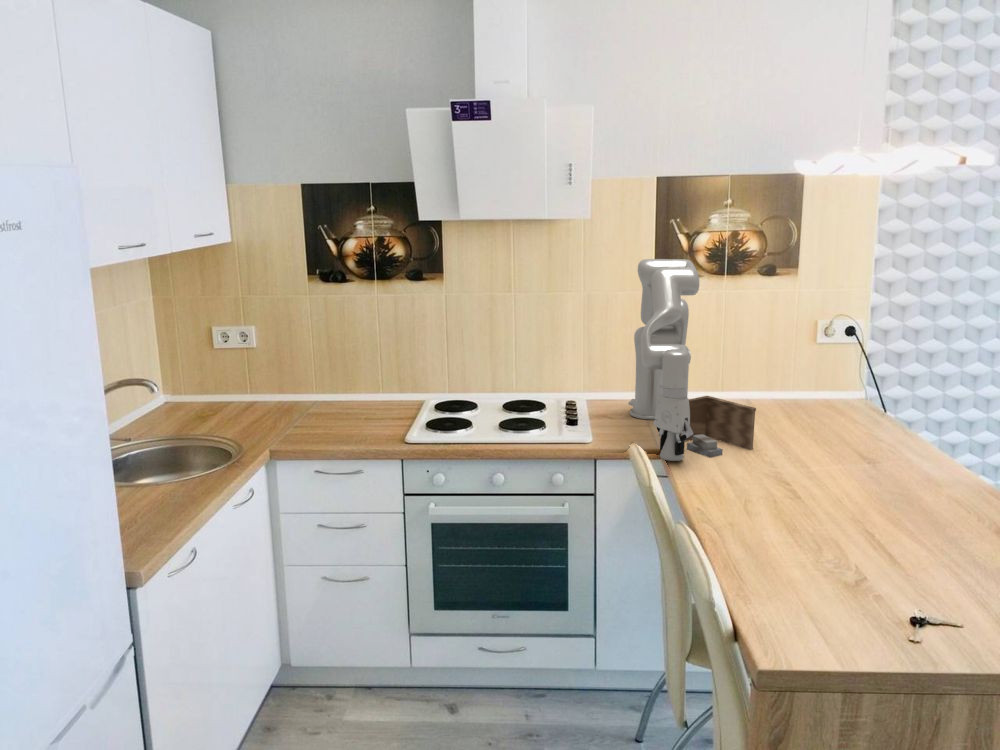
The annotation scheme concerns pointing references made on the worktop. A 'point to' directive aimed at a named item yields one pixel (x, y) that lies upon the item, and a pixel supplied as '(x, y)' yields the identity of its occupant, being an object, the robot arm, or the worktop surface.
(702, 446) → the offcut top
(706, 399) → the brown wooden corner wall
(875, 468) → the worktop surface
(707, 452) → the tray
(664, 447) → the flask
